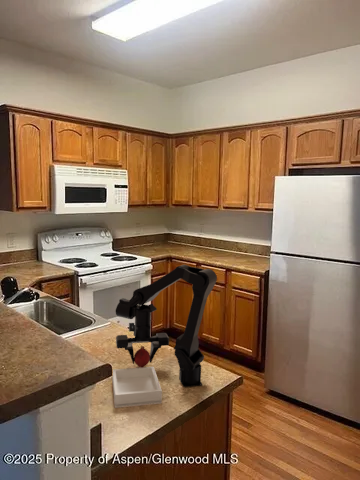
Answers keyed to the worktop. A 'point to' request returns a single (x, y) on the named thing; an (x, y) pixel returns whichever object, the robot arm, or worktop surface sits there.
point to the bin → (136, 387)
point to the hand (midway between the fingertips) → (141, 362)
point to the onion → (142, 357)
